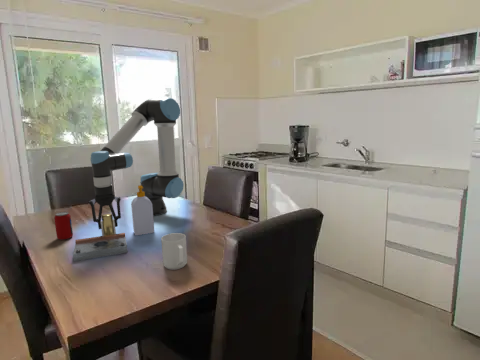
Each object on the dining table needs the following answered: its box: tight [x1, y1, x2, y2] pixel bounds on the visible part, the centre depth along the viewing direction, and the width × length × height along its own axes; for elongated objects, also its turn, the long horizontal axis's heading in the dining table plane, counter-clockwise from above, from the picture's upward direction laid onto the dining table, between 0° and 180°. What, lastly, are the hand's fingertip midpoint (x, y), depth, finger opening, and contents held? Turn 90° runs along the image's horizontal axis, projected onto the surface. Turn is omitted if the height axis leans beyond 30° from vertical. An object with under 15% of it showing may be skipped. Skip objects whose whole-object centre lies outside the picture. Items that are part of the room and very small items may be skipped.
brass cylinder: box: [101, 213, 114, 236], centre depth 154 cm, size 4×4×10 cm
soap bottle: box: [130, 184, 155, 236], centre depth 159 cm, size 9×7×23 cm
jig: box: [72, 232, 129, 262], centre depth 139 cm, size 20×14×4 cm
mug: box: [160, 232, 188, 271], centre depth 122 cm, size 12×9×11 cm
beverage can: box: [53, 211, 74, 241], centre depth 155 cm, size 7×7×12 cm
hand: (109, 234), depth 154 cm, fingers closed on brass cylinder, 4 cm apart
